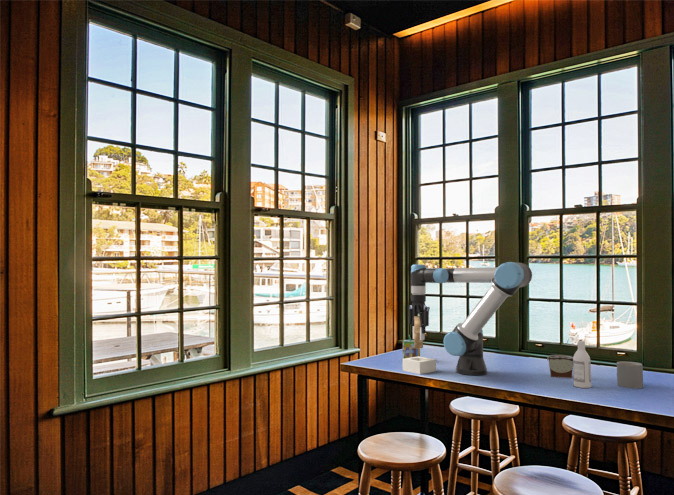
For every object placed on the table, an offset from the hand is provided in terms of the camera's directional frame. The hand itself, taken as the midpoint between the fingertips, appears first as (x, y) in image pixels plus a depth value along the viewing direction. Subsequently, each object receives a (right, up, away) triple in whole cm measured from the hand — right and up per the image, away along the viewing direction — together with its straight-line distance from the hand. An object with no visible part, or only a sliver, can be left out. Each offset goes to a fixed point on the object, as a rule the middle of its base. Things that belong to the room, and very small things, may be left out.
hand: (418, 339), depth 250 cm
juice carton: (+1, -18, +28) cm, 33 cm away
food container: (+67, -16, -14) cm, 70 cm away
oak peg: (0, -4, 0) cm, 4 cm away
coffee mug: (+90, -15, -33) cm, 97 cm away
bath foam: (+67, -15, -36) cm, 77 cm away
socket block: (0, -16, -1) cm, 16 cm away
